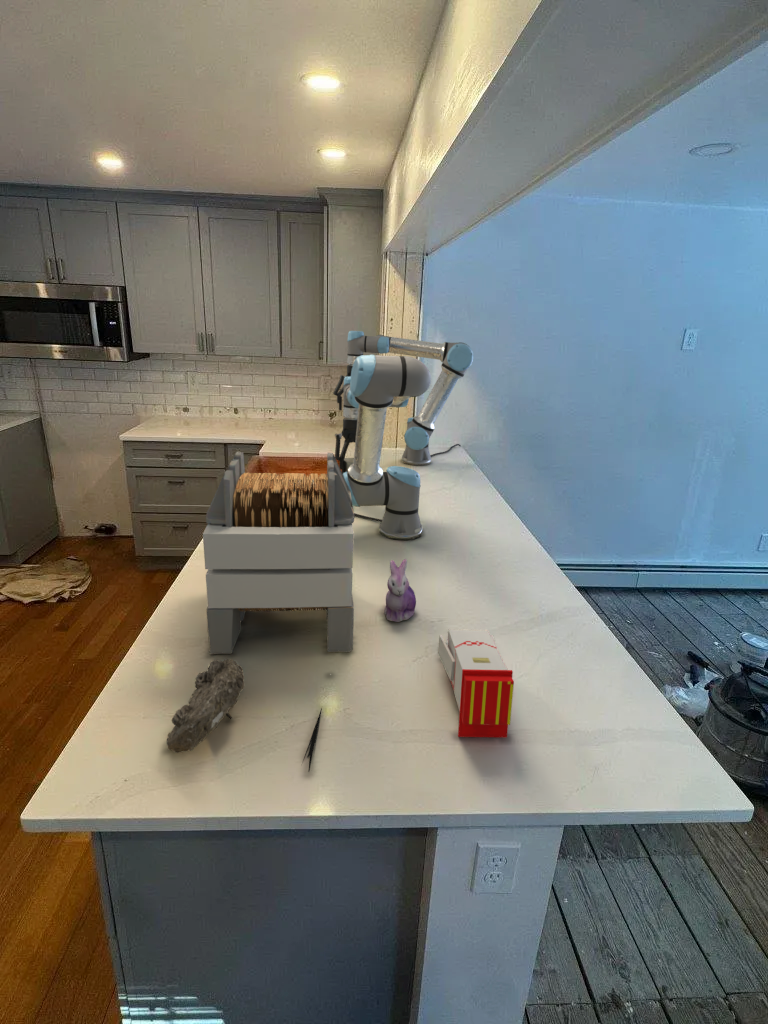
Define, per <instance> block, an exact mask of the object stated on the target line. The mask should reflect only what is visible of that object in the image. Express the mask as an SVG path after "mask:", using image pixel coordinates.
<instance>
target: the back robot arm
mask: <svg viewBox="0 0 768 1024" xmlns="http://www.w3.org/2000/svg"><path fill="white" fill-rule="evenodd" d="M346 342H347V347H346V348H347V350H346V351H347V356H346V364H347V365H346V375H343V374H340V376H339V381H338V382H337V384H336V387H335V388H334V391H333V392H332V394H333V395H334V396H336V403H337V404H338V410H339V411H343V396H342V395H343V394H344V387H343V384H344V378H345V377H349V376H351V371H352V367H353V364H354V361H355V360H356V358H357V357H359V356H362V355H364V353H365V354H366V353H370V354H380V355H381V354H388V353H389V354H396V355H402V356H409V357H417V358H423V359H424V358H425V359H431V360H438V361H440V362H441V365H440V367H441V372H440V373H439V376H438V377H437V379H436V381H435V383H434V385H433V387H432V388H431V391H430V392H429V394H428V396H427V398H426V400H425V402H424V403H423V406H422V407H421V409H420V411H419V413H418V415H415V416H413V417H408V418H407V422H406V430H405V433H404V435H403V439H404V443H405V448H404V450H403V453H402V456H401V463H403V464H406V465H410V466H428V465H430V464H431V463H432V457H434V456H438V455H443V454H446V453H449V452H450V451H451V450H452V449H453V448H455V447H456V446H459V447H462V446H461V444H460V443H456V444H453V445H452V446H450V448H449V449H448V450H445V451H440V452H435V453H433V454H431V453H430V449H429V446H430V445H429V444H430V438H431V437H432V435H433V433H434V432H435V431H434V430H435V428H436V427H435V422H436V420H437V419H438V417H439V415H440V413H441V412H442V410H443V408H444V406H445V404H446V402H447V401H448V399H449V397H450V395H451V393H452V391H453V390H454V388H455V386H456V384H457V383H458V381H459V380H460V379H463V378H464V377H465V374H466V373H467V371H468V369H469V368H470V367H471V366H472V364H473V361H474V351H473V349H472V347H470V345H468V344H467V343H466V342H465V343H464V342H448V341H444V342H443V343H440V342H431V341H424V340H417V339H409V338H403V337H395V336H388V335H387V336H386V335H384V334H377V335H375V336H374V335H365V332H364V331H363V330H349V331H348V333H347V341H346Z"/></svg>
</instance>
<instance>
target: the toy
mask: <svg viewBox="0 0 768 1024" xmlns="http://www.w3.org/2000/svg"><path fill="white" fill-rule="evenodd" d="M446 640H447V643H446V641H445V639H444V636H443V635H442V634H439V637H438V646H437V656H438V657H439V659H440V661H441V663H442V666H443V668H444V670H445V672H446V674H447V677H448V679H449V681H450V684H451V687H452V690H453V693H454V697H455V701H456V705H457V708H458V711H459V714H458V715H459V716H458V730H457V731H458V732H457V737H458V738H508V731H509V726H510V725H511V717H512V707H513V697H514V696H513V695H514V684H515V680H514V679H513V673H514V671H513V670H512V669H508V667H507V665H506V662H505V661H504V659H503V658H502V655H501V653H500V651H499V649H498V647H497V643H496V639H495V637H494V635H493V634H491V632H490V631H489V629H467V628H466V629H465V628H463V629H461V628H460V629H459V628H448V630H447V639H446Z"/></svg>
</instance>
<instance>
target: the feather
mask: <svg viewBox="0 0 768 1024" xmlns="http://www.w3.org/2000/svg"><path fill="white" fill-rule="evenodd" d="M329 675H330V676H331V675H332V674H331V673H330V674H329ZM322 710H323V707H321V708H320V710H319V713H318V716H317V719H316V723H315V725H314V728H313V731H312V733H311V737H310V739H309V742H308V745H307V748H306V751H305V754H304V757H303V760H302V763H301V767H302V765H303V763H304V761H305V758H308V759H309V760H308V762H307V763H308V764H307V766H308V771H310V770H311V766H312V765H311V764H312V760H313V757H315V756H314V755H315V751H316V749H315V746H317V739H318V733H319V729H320V722H321V717H322V712H323V711H322ZM313 754H314V755H313ZM306 755H307V757H306Z"/></svg>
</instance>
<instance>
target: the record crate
mask: <svg viewBox="0 0 768 1024" xmlns="http://www.w3.org/2000/svg"><path fill="white" fill-rule="evenodd" d="M244 455H245V454H244V451H242V452H241V451H236V452H235V454H234V456H233V458H232V459H230V463H229V465H228V467H227V469H226V470H224V473H223V475H222V478H221V479H220V482H219V484H218V487H217V489H216V491H215V494H214V495H213V497H212V500H211V502H210V505H209V507H208V509H207V511H206V515H205V523H206V524H207V525H206V527H205V529H204V531H203V533H202V543H203V558H204V569H205V570H206V573H205V584H206V587H205V588H206V598H207V599H206V601H207V607H206V623H207V634H208V641H209V642H208V643H209V650H208V653H209V655H216V654H217V655H218V654H221V655H222V654H223V655H226V654H227V655H228V654H230V655H231V654H232V653H233V650H234V648H235V647H236V643H237V641H238V638H239V636H240V634H241V630H242V626H241V625H242V623H241V622H243V621H244V618H245V615H246V612H272V611H273V612H279V611H280V612H284V611H286V612H288V611H289V612H291V611H292V612H293V611H294V612H295V611H303V612H304V611H322V610H323V611H326V636H327V637H326V641H327V645H326V646H327V652H329V653H330V652H332V653H333V652H343V653H349V652H351V651H352V650H354V617H355V616H354V614H355V607H354V598H353V575H354V573H353V566H354V563H353V562H354V537H355V536H354V535H355V532H354V527H353V524H354V522H355V516H354V513H355V511H354V506H353V505H352V499H351V493H350V492H351V491H350V489H349V487H348V485H347V483H346V481H345V478H344V476H343V474H342V469H340V467H339V465H340V464H339V463H338V460H336V458H335V453H333V452H327V453H326V456H327V457H326V468H327V469H326V473H320V474H318V473H307V474H306V473H303V472H302V473H299V472H298V473H297V472H294V473H293V472H292V473H291V472H290V473H288V472H283V473H276V472H273V473H271V472H263V473H262V472H259V473H258V472H253V473H252V472H245V468H246V467H245V456H244Z"/></svg>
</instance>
